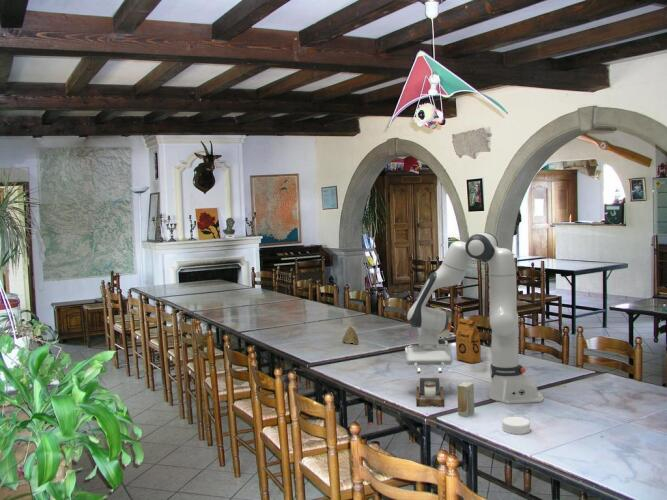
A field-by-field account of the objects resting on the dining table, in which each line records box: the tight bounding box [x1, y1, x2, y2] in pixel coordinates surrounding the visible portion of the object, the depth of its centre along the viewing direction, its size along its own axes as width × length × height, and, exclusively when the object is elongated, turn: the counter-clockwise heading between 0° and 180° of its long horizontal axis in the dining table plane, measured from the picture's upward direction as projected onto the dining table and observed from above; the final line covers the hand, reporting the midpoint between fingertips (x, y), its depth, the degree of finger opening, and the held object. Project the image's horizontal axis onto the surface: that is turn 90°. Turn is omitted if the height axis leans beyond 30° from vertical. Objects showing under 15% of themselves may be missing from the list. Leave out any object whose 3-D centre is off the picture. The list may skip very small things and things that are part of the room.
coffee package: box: [455, 318, 482, 364], centre depth 340 cm, size 10×12×22 cm
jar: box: [424, 381, 437, 399], centre depth 275 cm, size 5×5×8 cm
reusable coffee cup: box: [437, 310, 453, 338], centre depth 403 cm, size 13×13×15 cm
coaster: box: [501, 416, 531, 435], centre depth 240 cm, size 10×10×4 cm
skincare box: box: [456, 381, 475, 417], centre depth 259 cm, size 6×4×12 cm
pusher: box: [419, 377, 440, 395], centre depth 288 cm, size 8×5×7 cm, turn 82°
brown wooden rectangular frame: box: [415, 386, 445, 408], centre depth 279 cm, size 11×18×3 cm, turn 172°
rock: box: [341, 326, 359, 345], centre depth 392 cm, size 11×9×10 cm
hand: (429, 372), depth 282 cm, fingers open, 8 cm apart
